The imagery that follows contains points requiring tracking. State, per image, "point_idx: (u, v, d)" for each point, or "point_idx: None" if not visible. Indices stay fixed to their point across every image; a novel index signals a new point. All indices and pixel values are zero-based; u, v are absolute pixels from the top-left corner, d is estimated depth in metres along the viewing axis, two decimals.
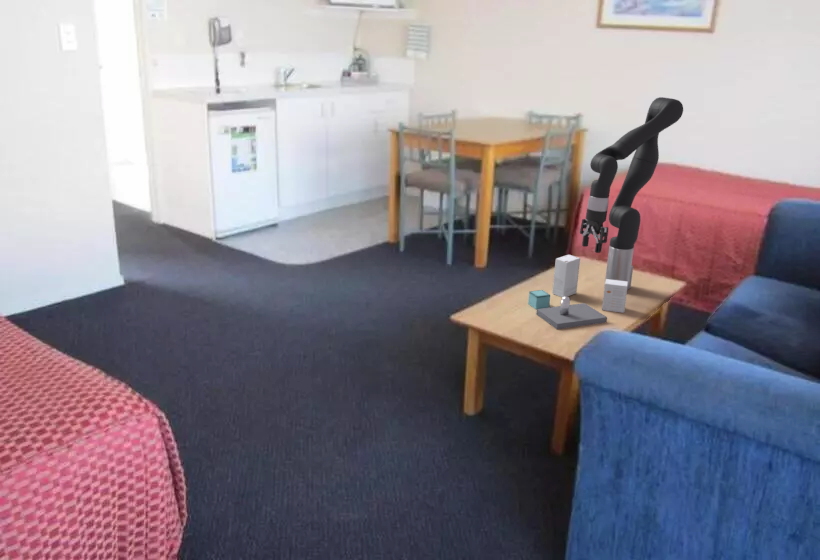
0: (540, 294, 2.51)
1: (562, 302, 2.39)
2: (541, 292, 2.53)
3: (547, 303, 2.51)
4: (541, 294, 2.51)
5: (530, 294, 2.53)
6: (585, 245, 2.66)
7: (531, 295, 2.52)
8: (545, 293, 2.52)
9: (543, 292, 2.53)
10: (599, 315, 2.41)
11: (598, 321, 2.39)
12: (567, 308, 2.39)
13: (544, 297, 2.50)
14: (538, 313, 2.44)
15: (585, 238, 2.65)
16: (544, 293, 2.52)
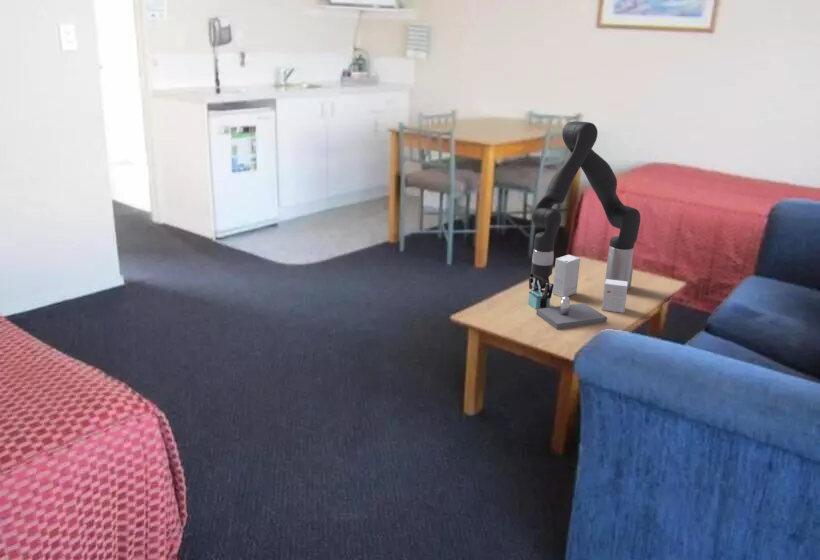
0: (540, 294, 2.51)
1: (562, 302, 2.39)
2: None
3: (547, 303, 2.51)
4: None
5: (530, 294, 2.53)
6: None
7: (531, 295, 2.52)
8: None
9: (543, 292, 2.53)
10: (599, 315, 2.41)
11: (598, 321, 2.39)
12: (567, 308, 2.39)
13: None
14: (538, 313, 2.44)
15: None
16: None
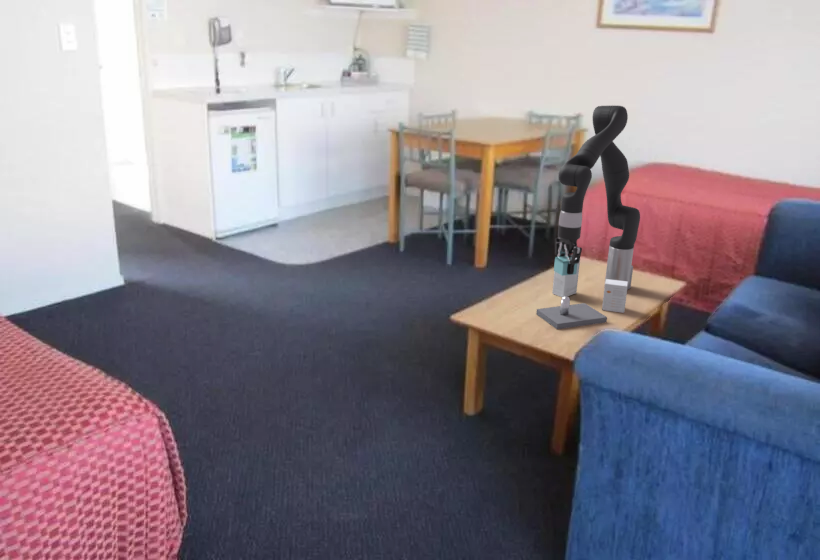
0: (567, 259, 2.34)
1: (562, 302, 2.39)
2: None
3: (574, 269, 2.34)
4: None
5: (556, 260, 2.36)
6: None
7: (557, 261, 2.36)
8: None
9: None
10: (599, 315, 2.41)
11: (598, 321, 2.39)
12: (567, 308, 2.39)
13: None
14: (538, 313, 2.44)
15: None
16: None
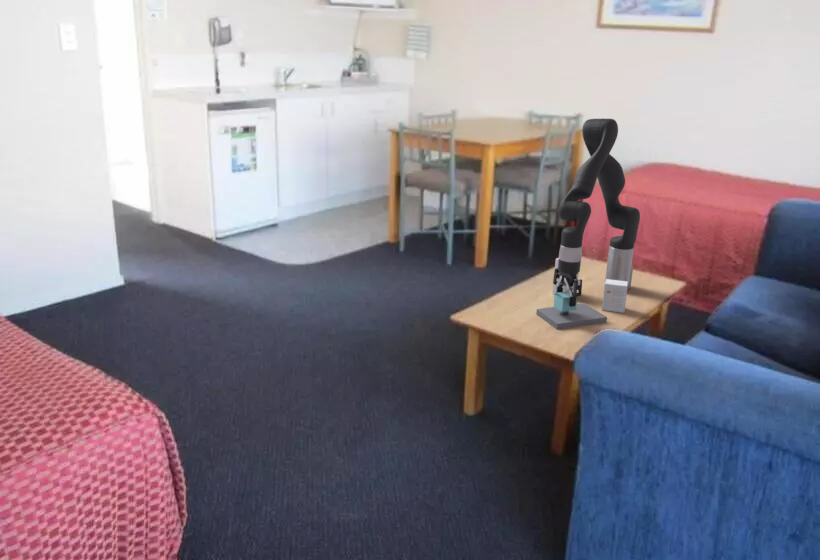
0: (566, 296, 2.37)
1: None
2: (567, 293, 2.39)
3: None
4: (567, 296, 2.38)
5: (556, 296, 2.40)
6: None
7: (557, 297, 2.39)
8: None
9: (569, 293, 2.40)
10: (599, 315, 2.41)
11: (598, 321, 2.39)
12: None
13: None
14: (538, 313, 2.44)
15: (559, 289, 2.42)
16: None
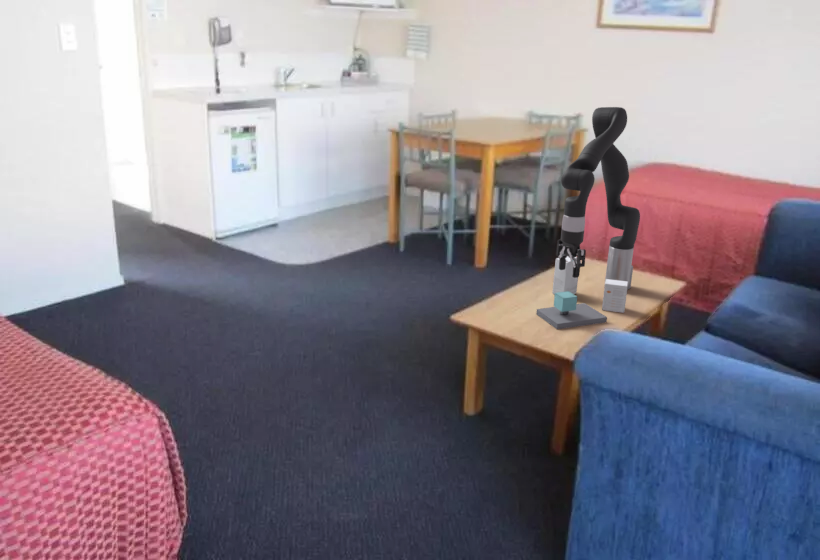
0: (566, 296, 2.37)
1: None
2: (567, 293, 2.39)
3: (574, 305, 2.38)
4: (567, 296, 2.38)
5: (556, 296, 2.40)
6: (562, 268, 2.39)
7: (557, 297, 2.39)
8: (572, 295, 2.39)
9: (569, 293, 2.40)
10: (599, 315, 2.41)
11: (598, 321, 2.39)
12: None
13: (570, 299, 2.37)
14: (538, 313, 2.44)
15: (562, 261, 2.38)
16: (571, 295, 2.39)
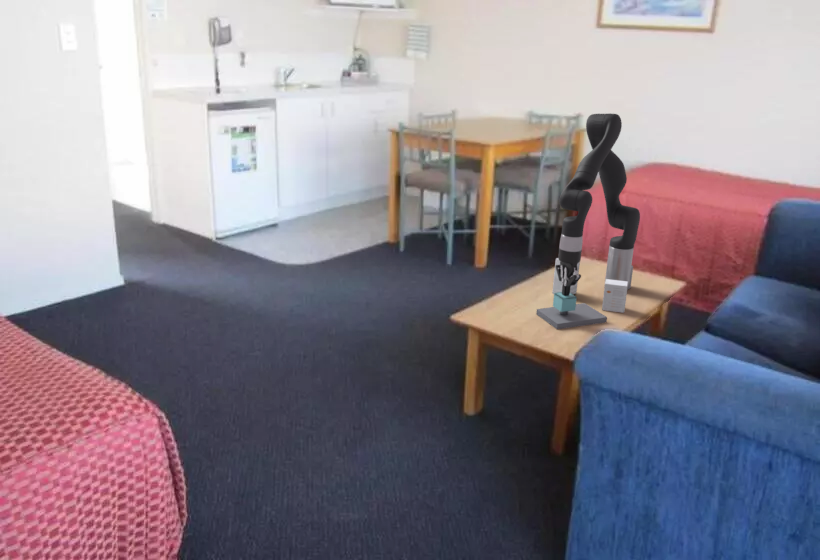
0: (566, 296, 2.37)
1: None
2: None
3: (573, 305, 2.38)
4: (567, 296, 2.37)
5: (555, 296, 2.40)
6: None
7: (556, 297, 2.39)
8: (571, 295, 2.38)
9: (569, 294, 2.39)
10: (599, 315, 2.41)
11: (598, 321, 2.39)
12: None
13: (570, 299, 2.36)
14: (538, 313, 2.44)
15: None
16: (570, 295, 2.38)
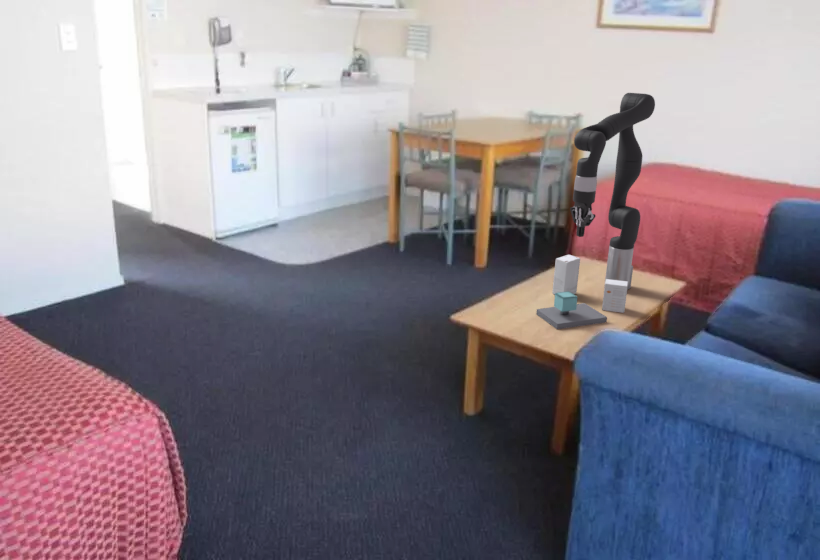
0: (566, 295, 2.38)
1: None
2: (567, 293, 2.39)
3: (574, 305, 2.38)
4: (568, 295, 2.38)
5: (556, 296, 2.40)
6: None
7: (557, 297, 2.39)
8: (572, 294, 2.39)
9: (570, 293, 2.40)
10: (599, 315, 2.41)
11: (598, 321, 2.39)
12: None
13: (571, 298, 2.37)
14: (538, 313, 2.44)
15: None
16: (571, 294, 2.39)
